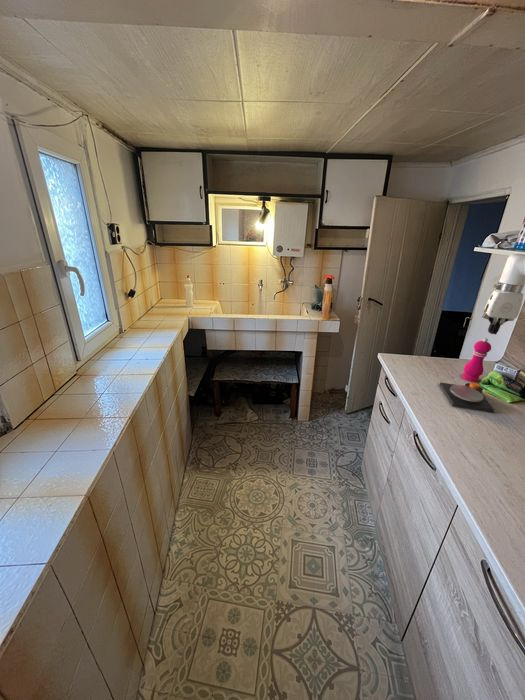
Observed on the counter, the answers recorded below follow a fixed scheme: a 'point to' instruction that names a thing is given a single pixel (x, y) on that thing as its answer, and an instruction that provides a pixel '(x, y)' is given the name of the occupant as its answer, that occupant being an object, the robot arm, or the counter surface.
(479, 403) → the scale
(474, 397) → the weighing plate
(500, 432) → the counter surface
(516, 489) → the counter surface
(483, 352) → the pepper mill
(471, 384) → the button
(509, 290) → the robot arm
